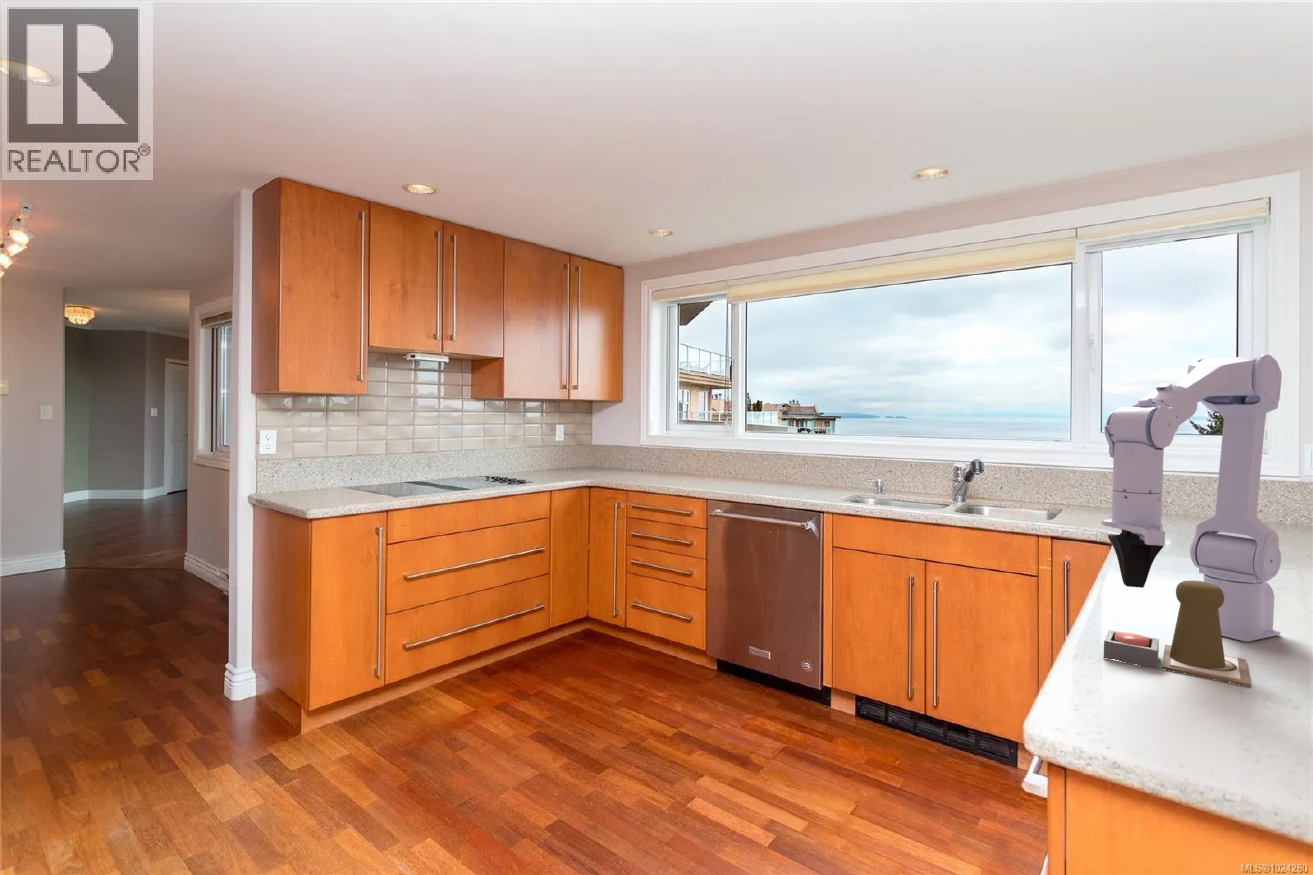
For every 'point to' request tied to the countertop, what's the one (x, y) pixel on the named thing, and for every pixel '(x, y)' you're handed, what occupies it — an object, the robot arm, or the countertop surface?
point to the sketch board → (1230, 673)
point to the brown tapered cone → (1198, 625)
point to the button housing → (1131, 651)
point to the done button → (1132, 639)
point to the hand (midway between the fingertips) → (1133, 586)
